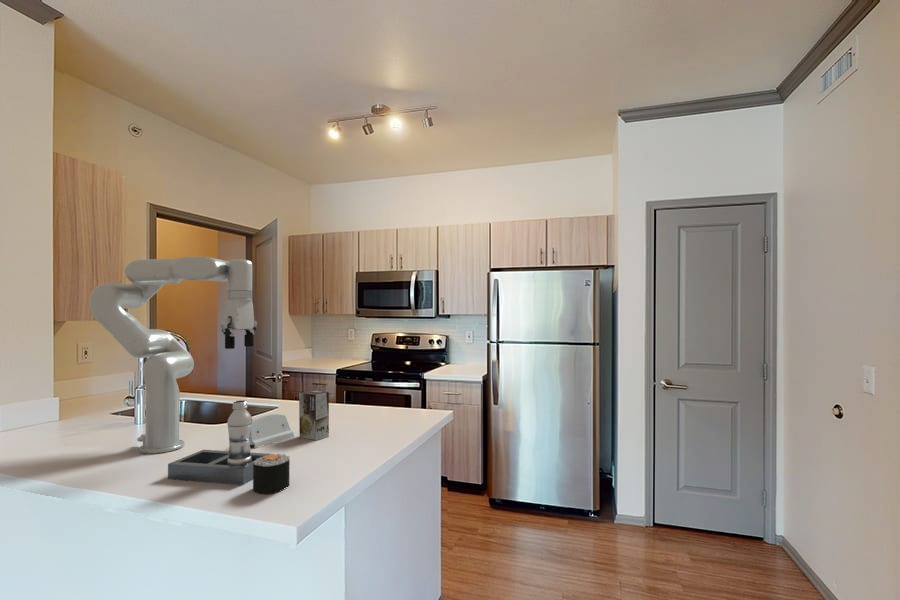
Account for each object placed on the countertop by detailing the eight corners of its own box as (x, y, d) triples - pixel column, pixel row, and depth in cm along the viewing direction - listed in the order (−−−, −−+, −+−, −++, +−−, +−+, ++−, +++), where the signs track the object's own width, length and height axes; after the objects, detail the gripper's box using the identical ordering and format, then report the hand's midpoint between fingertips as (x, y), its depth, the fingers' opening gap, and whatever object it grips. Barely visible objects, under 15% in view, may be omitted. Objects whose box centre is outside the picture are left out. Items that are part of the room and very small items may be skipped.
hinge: (254, 448, 148) (248, 418, 150) (246, 451, 151) (239, 422, 153) (295, 436, 163) (288, 409, 165) (286, 439, 165) (280, 412, 167)
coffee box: (329, 436, 163) (329, 391, 163) (315, 440, 157) (315, 394, 158) (312, 433, 168) (312, 389, 168) (298, 437, 162) (298, 392, 163)
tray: (167, 478, 122) (168, 463, 122) (203, 463, 134) (203, 449, 134) (243, 484, 117) (243, 469, 117) (272, 467, 130) (272, 453, 130)
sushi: (246, 491, 113) (246, 459, 113) (272, 480, 120) (272, 450, 120) (270, 496, 109) (271, 463, 110) (295, 484, 117) (295, 453, 117)
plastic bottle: (246, 468, 130) (246, 398, 130) (256, 473, 125) (256, 401, 125) (222, 473, 125) (223, 401, 126) (231, 480, 120) (232, 405, 121)
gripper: (246, 297, 160) (246, 345, 160) (211, 295, 143) (211, 349, 143) (265, 297, 159) (265, 345, 158) (232, 295, 142) (232, 349, 141)
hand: (239, 347), depth 150 cm, fingers open, 9 cm apart
